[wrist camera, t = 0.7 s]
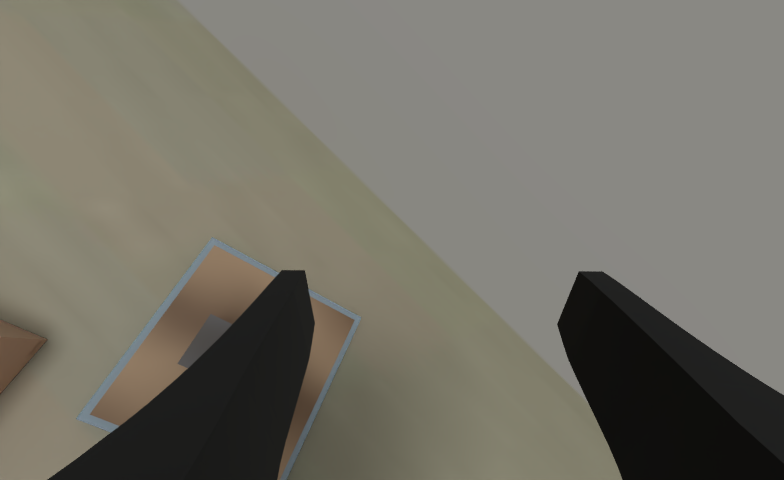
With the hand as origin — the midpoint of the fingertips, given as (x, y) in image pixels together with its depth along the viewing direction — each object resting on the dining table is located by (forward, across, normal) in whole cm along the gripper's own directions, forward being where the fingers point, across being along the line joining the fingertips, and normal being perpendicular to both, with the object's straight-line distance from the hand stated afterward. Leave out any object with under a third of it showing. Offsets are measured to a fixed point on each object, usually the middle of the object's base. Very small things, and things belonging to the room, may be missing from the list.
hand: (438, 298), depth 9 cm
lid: (+6, +10, +11) cm, 16 cm away
